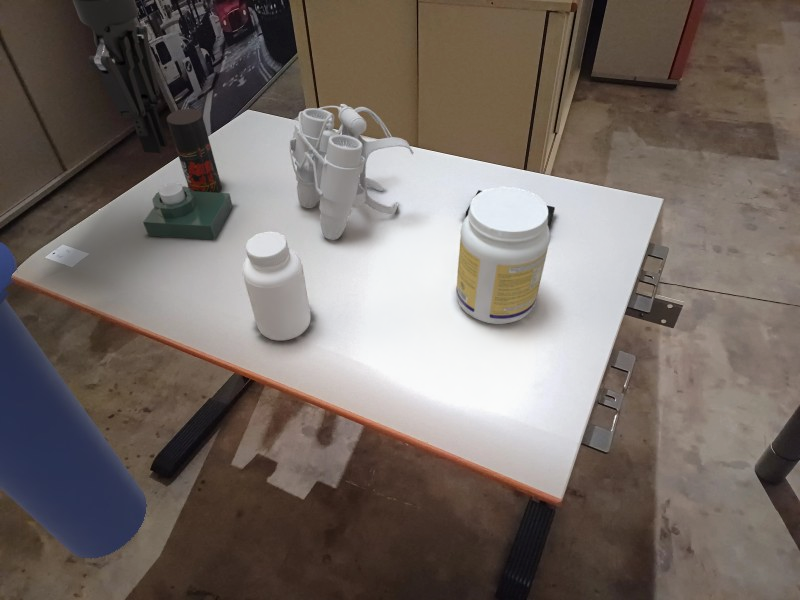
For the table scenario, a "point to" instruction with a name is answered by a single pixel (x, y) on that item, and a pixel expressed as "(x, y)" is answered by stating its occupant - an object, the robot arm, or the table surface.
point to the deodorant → (194, 150)
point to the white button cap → (172, 193)
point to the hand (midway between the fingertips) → (156, 148)
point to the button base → (189, 215)
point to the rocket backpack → (336, 164)
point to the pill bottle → (276, 287)
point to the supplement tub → (502, 254)
